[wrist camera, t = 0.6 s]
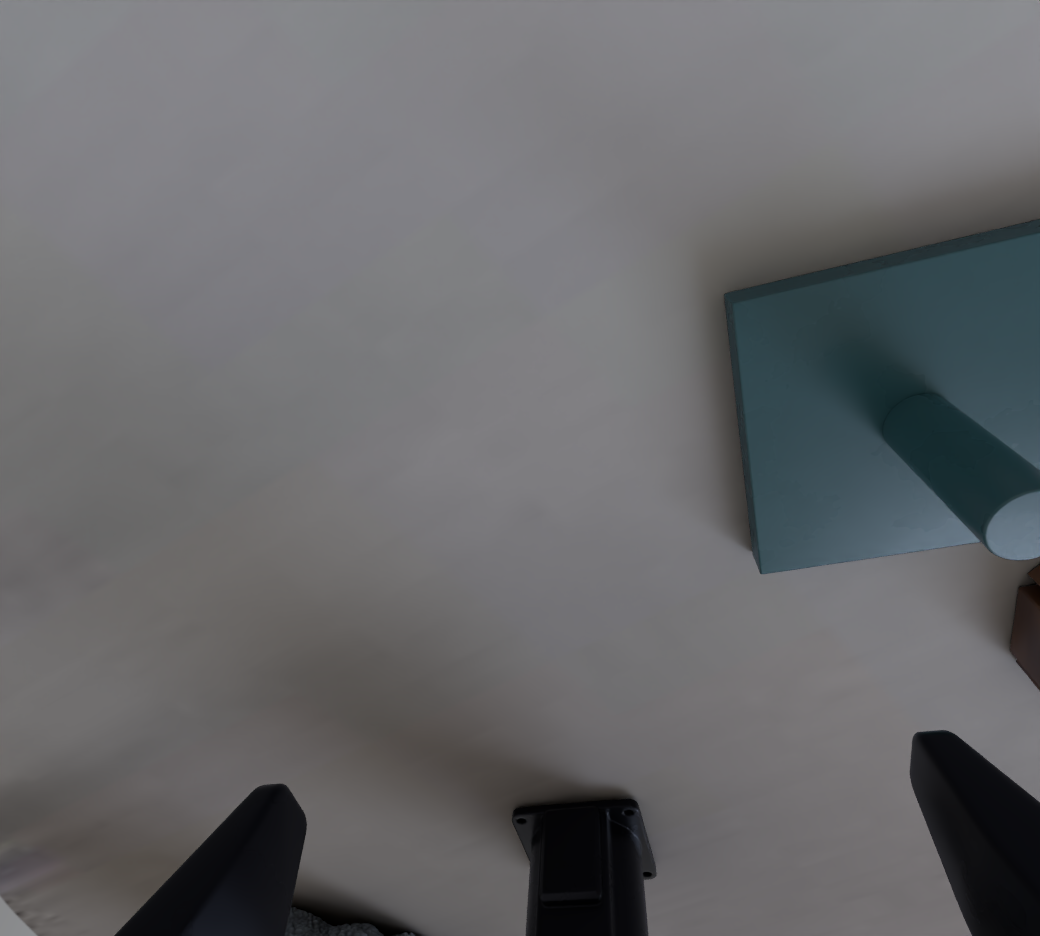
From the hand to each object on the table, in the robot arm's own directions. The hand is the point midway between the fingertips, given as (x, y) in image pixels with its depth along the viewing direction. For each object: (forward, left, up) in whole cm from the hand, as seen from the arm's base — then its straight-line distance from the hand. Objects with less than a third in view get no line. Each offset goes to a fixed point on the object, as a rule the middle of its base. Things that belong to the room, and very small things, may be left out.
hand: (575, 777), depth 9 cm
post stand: (-3, -10, -14) cm, 17 cm away
